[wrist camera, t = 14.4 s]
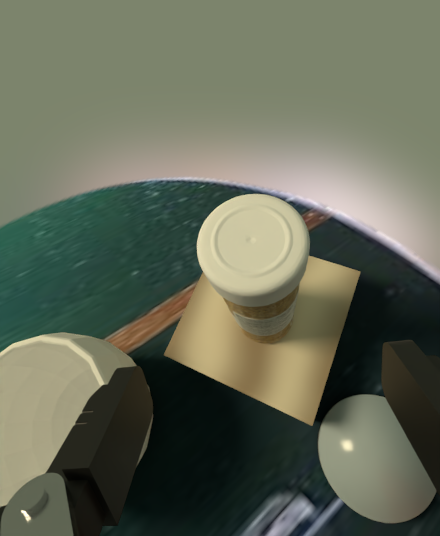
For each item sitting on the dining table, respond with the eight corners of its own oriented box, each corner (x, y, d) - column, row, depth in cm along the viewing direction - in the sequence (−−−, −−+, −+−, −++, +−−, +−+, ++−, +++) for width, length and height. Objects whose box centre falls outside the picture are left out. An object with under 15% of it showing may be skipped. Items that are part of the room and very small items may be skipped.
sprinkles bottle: (241, 285, 26) (206, 186, 13) (297, 291, 25) (315, 192, 12) (231, 340, 24) (183, 286, 12) (291, 350, 23) (306, 302, 11)
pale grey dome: (303, 480, 23) (304, 484, 22) (334, 377, 25) (336, 377, 24) (419, 542, 21) (425, 549, 20) (442, 423, 23) (449, 424, 22)
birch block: (178, 359, 28) (163, 355, 25) (229, 248, 32) (223, 229, 28) (307, 421, 25) (312, 425, 21) (349, 287, 28) (360, 271, 24)
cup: (134, 529, 24) (51, 610, 15) (17, 460, 27) (-106, 493, 19) (193, 372, 28) (153, 363, 19) (83, 329, 31) (6, 304, 22)
